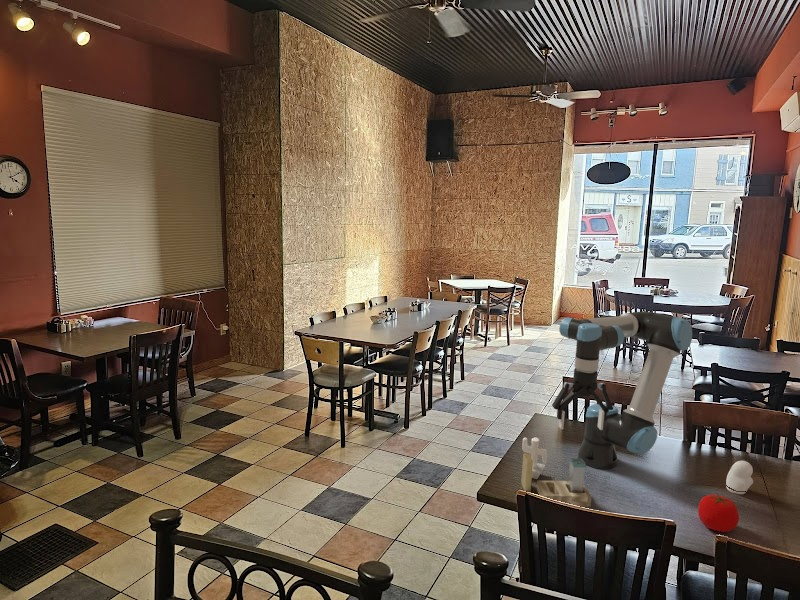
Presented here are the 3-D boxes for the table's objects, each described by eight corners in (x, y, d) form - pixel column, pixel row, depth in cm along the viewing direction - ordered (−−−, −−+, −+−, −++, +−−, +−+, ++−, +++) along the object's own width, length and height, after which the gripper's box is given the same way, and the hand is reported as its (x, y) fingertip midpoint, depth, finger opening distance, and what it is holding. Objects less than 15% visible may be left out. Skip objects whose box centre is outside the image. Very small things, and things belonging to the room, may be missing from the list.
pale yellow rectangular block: (526, 483, 196) (528, 453, 194) (530, 491, 191) (532, 461, 188) (521, 483, 196) (523, 453, 194) (525, 491, 191) (527, 461, 188)
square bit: (578, 494, 189) (581, 458, 186) (582, 501, 185) (585, 464, 182) (566, 494, 189) (570, 458, 186) (570, 500, 185) (573, 464, 182)
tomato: (699, 533, 169) (703, 503, 167) (693, 512, 180) (697, 484, 178) (740, 542, 165) (745, 511, 163) (731, 520, 176) (736, 491, 174)
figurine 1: (543, 482, 197) (546, 445, 194) (518, 476, 201) (520, 439, 198) (547, 474, 203) (550, 438, 200) (523, 468, 207) (525, 432, 205)
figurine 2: (741, 497, 190) (746, 467, 188) (721, 487, 197) (725, 457, 194) (753, 493, 193) (758, 463, 191) (732, 483, 200) (737, 454, 198)
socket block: (580, 491, 192) (581, 481, 191) (590, 507, 182) (591, 496, 181) (536, 490, 192) (537, 480, 191) (544, 506, 182) (545, 495, 181)
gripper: (618, 366, 182) (611, 423, 186) (546, 365, 181) (541, 422, 186) (627, 373, 175) (620, 433, 179) (552, 372, 174) (547, 432, 178)
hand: (580, 428), depth 182 cm, fingers open, 13 cm apart
